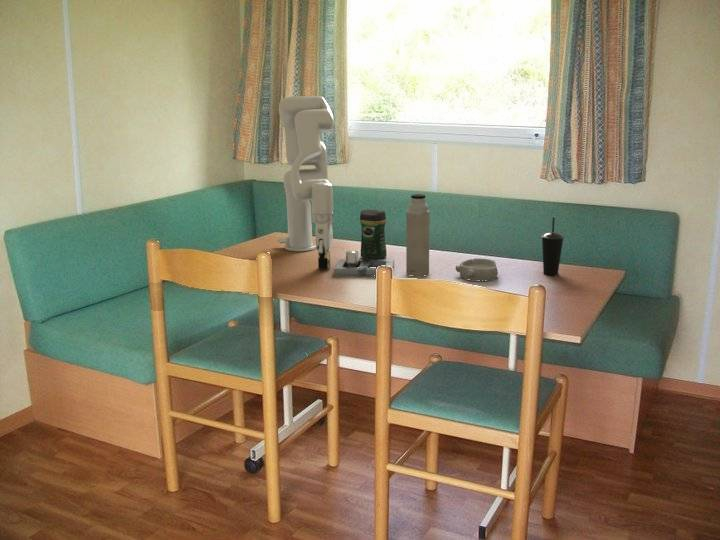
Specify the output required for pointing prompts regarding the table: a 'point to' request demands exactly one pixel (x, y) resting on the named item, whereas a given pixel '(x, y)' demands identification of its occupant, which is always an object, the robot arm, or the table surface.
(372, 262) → the jig
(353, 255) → the brushed metal cylinder
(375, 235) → the coffee jar
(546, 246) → the drinking cup
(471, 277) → the dish
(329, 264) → the brass cylinder
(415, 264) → the thermos bottle
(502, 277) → the table surface
